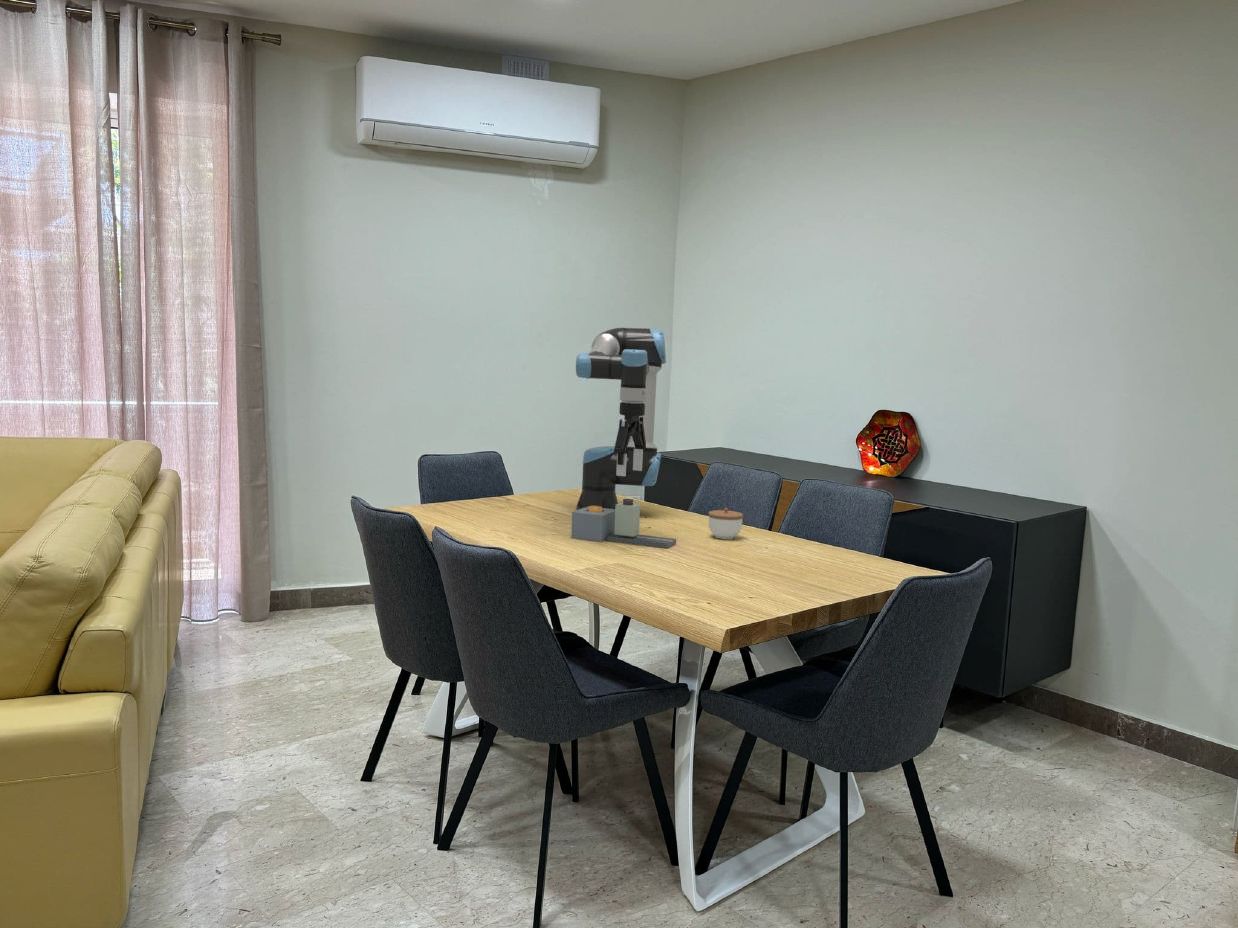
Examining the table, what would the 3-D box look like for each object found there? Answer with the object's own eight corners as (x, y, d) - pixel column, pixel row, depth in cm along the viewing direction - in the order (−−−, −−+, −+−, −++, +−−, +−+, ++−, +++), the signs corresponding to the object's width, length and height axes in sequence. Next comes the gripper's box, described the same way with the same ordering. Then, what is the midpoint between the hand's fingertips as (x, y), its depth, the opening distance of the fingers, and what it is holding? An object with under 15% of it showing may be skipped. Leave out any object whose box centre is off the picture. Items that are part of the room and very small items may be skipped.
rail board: (607, 541, 281) (607, 535, 281) (617, 536, 288) (617, 531, 288) (667, 548, 274) (667, 543, 274) (676, 543, 281) (676, 538, 281)
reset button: (586, 526, 285) (586, 507, 284) (591, 524, 289) (592, 505, 288) (598, 527, 284) (598, 508, 283) (603, 525, 287) (604, 506, 287)
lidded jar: (743, 541, 289) (745, 511, 288) (708, 540, 289) (710, 510, 288) (739, 535, 300) (741, 506, 298) (706, 533, 300) (707, 504, 299)
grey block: (571, 538, 283) (572, 511, 282) (587, 531, 294) (588, 506, 293) (601, 541, 279) (602, 515, 278) (616, 535, 290) (617, 509, 289)
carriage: (614, 534, 281) (615, 499, 280) (620, 531, 286) (622, 497, 285) (633, 536, 279) (634, 501, 278) (638, 533, 284) (640, 499, 283)
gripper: (629, 405, 265) (625, 479, 268) (658, 400, 288) (655, 469, 291) (604, 403, 268) (601, 476, 270) (635, 399, 291) (632, 467, 293)
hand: (629, 473), depth 281 cm, fingers open, 13 cm apart
